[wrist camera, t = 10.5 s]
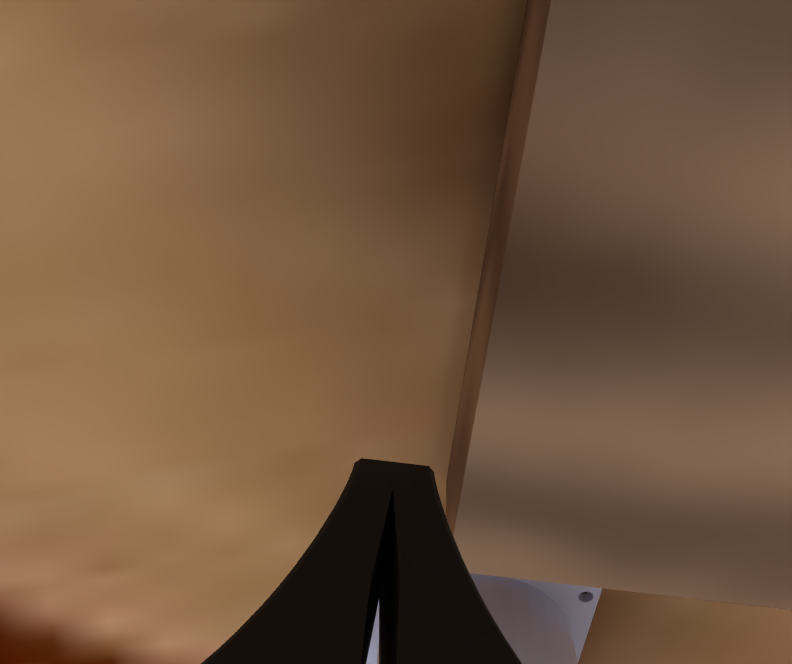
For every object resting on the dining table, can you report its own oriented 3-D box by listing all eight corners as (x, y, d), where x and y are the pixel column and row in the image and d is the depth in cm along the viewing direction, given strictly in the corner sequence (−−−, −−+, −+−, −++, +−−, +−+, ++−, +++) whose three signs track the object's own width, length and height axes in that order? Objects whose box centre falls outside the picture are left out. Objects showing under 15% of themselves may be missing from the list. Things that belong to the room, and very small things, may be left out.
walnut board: (801, 521, 25) (859, 618, 22) (446, 480, 25) (446, 570, 22) (1092, -91, 17) (1268, -95, 13) (552, -152, 17) (582, -173, 13)
